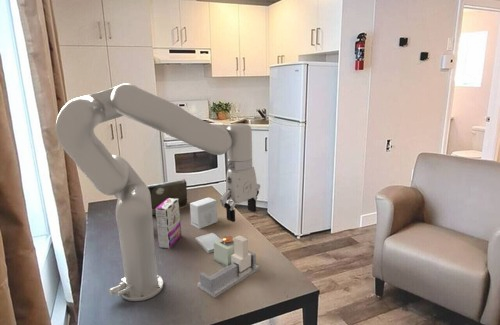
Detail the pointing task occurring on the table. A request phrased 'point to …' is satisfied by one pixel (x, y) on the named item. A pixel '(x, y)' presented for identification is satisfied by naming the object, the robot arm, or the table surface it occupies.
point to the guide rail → (226, 277)
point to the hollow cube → (223, 252)
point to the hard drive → (207, 241)
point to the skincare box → (203, 212)
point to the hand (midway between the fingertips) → (241, 215)
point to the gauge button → (227, 240)
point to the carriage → (241, 253)
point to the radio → (168, 193)
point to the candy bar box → (168, 222)
